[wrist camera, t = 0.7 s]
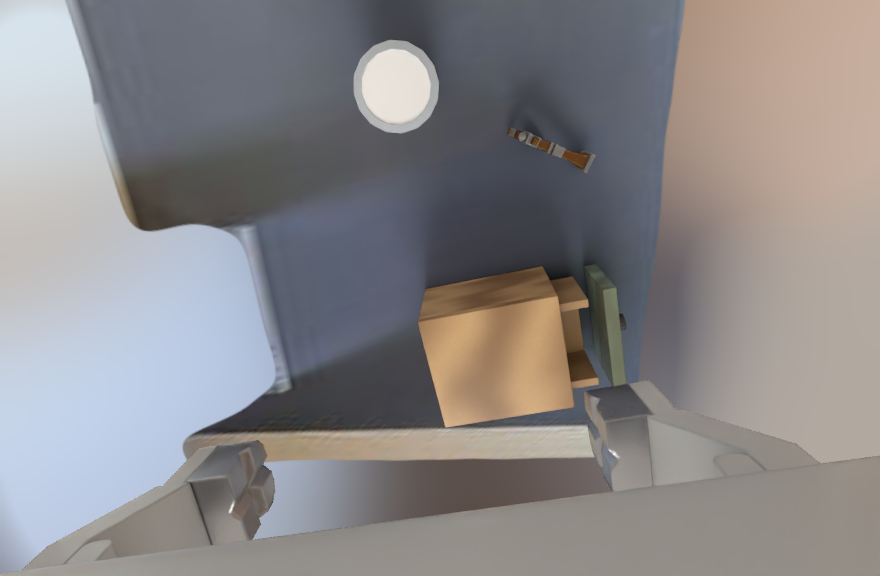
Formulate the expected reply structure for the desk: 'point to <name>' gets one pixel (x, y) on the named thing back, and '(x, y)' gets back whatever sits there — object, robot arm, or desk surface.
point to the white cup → (396, 86)
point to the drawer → (603, 325)
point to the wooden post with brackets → (555, 149)
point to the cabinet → (496, 347)
